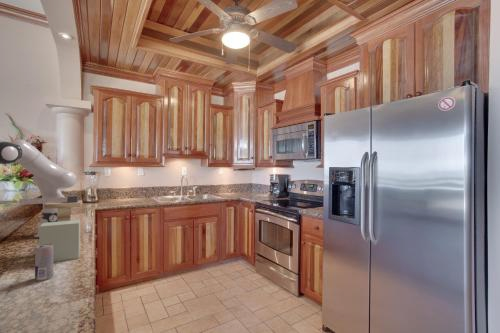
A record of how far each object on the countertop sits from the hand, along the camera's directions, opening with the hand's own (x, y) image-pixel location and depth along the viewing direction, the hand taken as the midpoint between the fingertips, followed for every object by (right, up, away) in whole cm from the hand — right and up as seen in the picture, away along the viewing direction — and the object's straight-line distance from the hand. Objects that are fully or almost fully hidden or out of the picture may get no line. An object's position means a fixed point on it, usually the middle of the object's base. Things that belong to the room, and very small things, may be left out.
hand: (1, 216), depth 114 cm
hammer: (+14, +5, +8) cm, 17 cm away
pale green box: (+25, -19, +2) cm, 31 cm away
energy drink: (+34, -20, -18) cm, 43 cm away
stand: (+20, -19, +11) cm, 30 cm away
